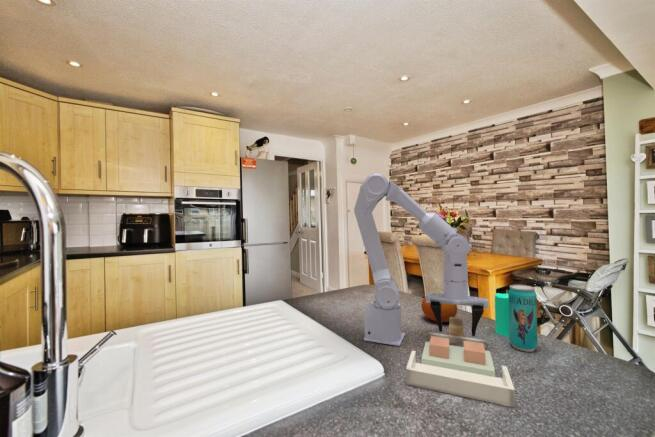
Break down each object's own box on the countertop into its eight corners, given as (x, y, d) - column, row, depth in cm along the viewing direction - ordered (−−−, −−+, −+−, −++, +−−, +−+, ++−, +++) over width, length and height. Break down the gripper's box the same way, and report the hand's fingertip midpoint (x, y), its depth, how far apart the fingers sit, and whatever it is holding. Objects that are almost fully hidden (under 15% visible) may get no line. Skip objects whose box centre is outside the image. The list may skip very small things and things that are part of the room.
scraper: (428, 346, 73) (428, 324, 73) (430, 334, 80) (430, 314, 80) (486, 355, 67) (486, 332, 67) (483, 341, 75) (483, 320, 75)
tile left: (429, 355, 64) (429, 344, 64) (431, 346, 69) (431, 336, 69) (448, 359, 63) (448, 347, 63) (449, 349, 67) (449, 338, 67)
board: (421, 365, 63) (421, 358, 63) (425, 347, 72) (425, 341, 72) (495, 379, 57) (495, 371, 57) (490, 358, 66) (489, 351, 66)
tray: (406, 384, 56) (405, 368, 56) (412, 364, 64) (412, 350, 64) (515, 407, 49) (514, 390, 49) (506, 381, 56) (506, 366, 56)
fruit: (464, 325, 86) (464, 298, 86) (432, 327, 85) (431, 300, 85) (444, 313, 97) (444, 290, 97) (415, 315, 95) (415, 291, 95)
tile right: (464, 361, 61) (464, 349, 61) (463, 351, 66) (463, 340, 66) (485, 365, 60) (485, 353, 60) (483, 354, 64) (483, 343, 64)
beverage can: (511, 350, 70) (510, 288, 70) (507, 341, 75) (506, 283, 75) (540, 355, 67) (538, 290, 67) (534, 345, 72) (533, 285, 72)
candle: (524, 338, 76) (524, 293, 76) (499, 336, 78) (499, 292, 78) (514, 329, 82) (514, 287, 82) (491, 328, 83) (491, 287, 84)
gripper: (424, 281, 74) (425, 334, 74) (489, 285, 68) (490, 343, 68) (427, 276, 80) (428, 324, 80) (486, 279, 74) (487, 332, 74)
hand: (456, 332), depth 74 cm, fingers open, 7 cm apart
